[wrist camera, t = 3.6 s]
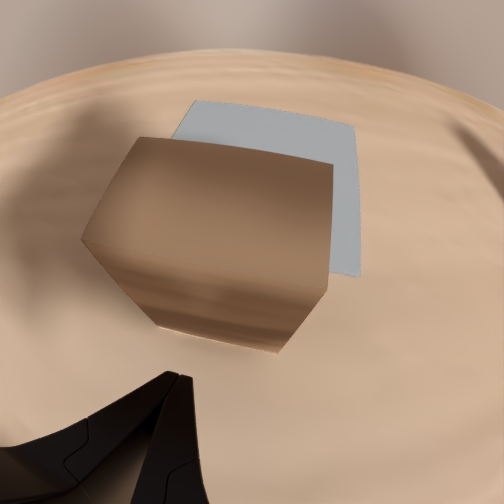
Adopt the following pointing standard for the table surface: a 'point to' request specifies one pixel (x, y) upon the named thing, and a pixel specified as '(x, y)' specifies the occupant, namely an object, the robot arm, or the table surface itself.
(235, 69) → the table surface
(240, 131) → the slate board
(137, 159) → the walnut block
